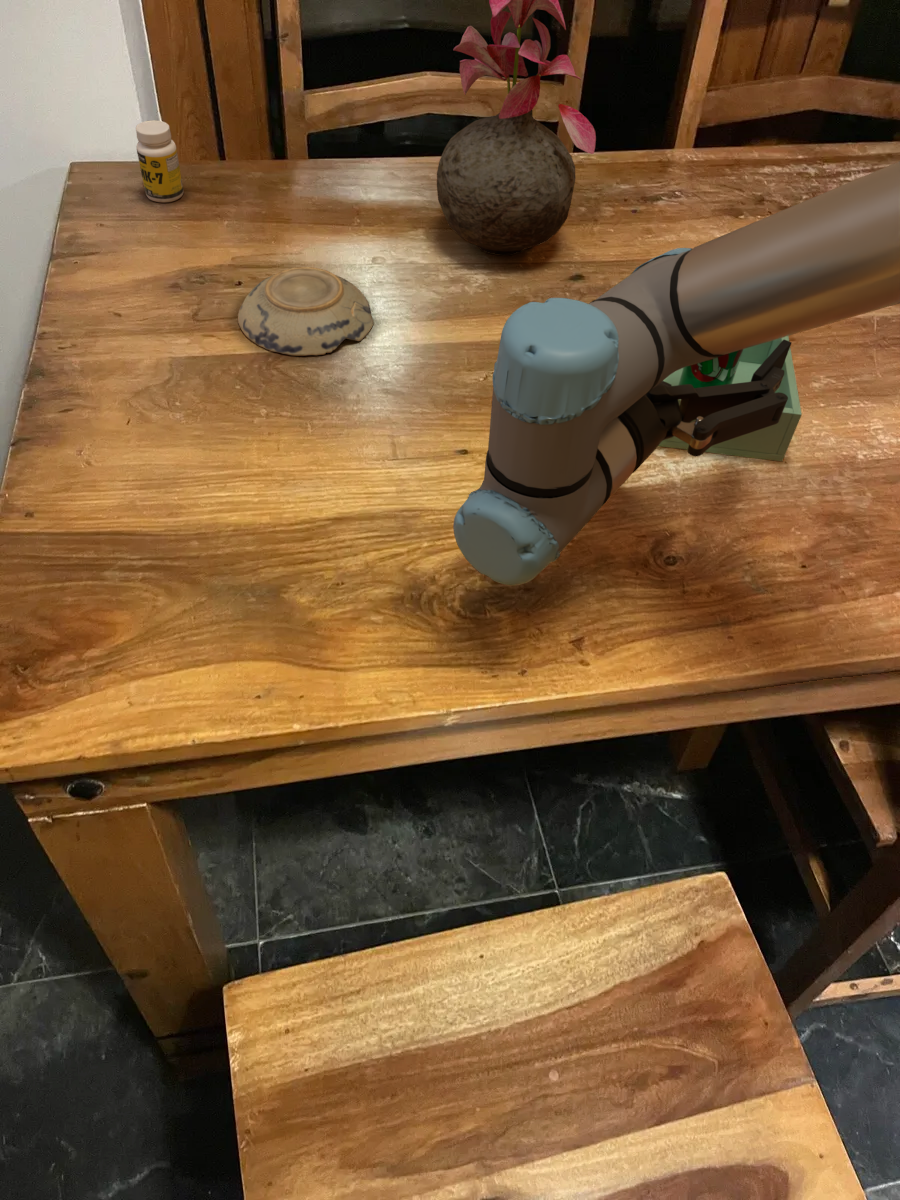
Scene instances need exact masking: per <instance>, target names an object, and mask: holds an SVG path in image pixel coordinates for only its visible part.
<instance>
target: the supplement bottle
mask: <svg viewBox="0 0 900 1200" xmlns="http://www.w3.org/2000/svg"><path fill="white" fill-rule="evenodd" d="M170 128H171V127H170V125H169V124H168V123H167V122H165V121H162V120H145V121H142V122H139V123H138V124H137V125H136V127H135V132H136V139H137V141H138V142H137V143H136V145H135V147H136V154H137V158H138V164H139V168H140V173H141V179H142V183H143V186H144V187H143V188H144V192H145V195H146V197H147V198H148V199H149V200H150V201H153V202H157V203H164V204H165V203H172V202H175V201H178V200H179V199H181V198H182V197H183V195H184V185H183V179H182V173H181V168H180V166H181V165H180V161H179V156H178V149H177V144H176V143H175V141H174V140H173V139H172V133H171V129H170Z"/></svg>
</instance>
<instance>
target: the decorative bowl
mask: <svg viewBox="0 0 900 1200" xmlns="http://www.w3.org/2000/svg"><path fill="white" fill-rule="evenodd" d="M237 322H238V326H239V328H240V330H241V331H242V333H243V334H244V336H245V337H246V338H247V339H248V340H250V341H251V342H252V343H254V344H255V345H257V346H258V347H262V348H264V349H265V350H266V351H270V352H273V353H280V354H282V355H288V356H296V357H298V356H301V357H304V356H324V355H326V353H327V354H329V353H332V352H333V351H335V350H336V349H337V348H338V347H339V346H340V345H341V344H342V343H343V342H344V341H345V340H346V339H347V340H351V341H355V342H361V341H362V340H363V339H364V338H365V337H366V336H367V335H368V334H369V332H370V331H371V330H372V328H373V326H374V318H373V315H372V309H371V306H370V303H369V301H368V299H367V297H366V296H365V294H364V293H363V291H361V290H360V289H359V288H358V287H357V286H356V285H355V284H353V283H352V282H350V281H349V280H347V279H346V278H343V277H341V276H339V275H337V274H334V273H333V272H331V271H328V270H326V269H323V268H318V267H312V266H299V267H298V266H297V267H291V268H288V269H284V270H281V271H279V272H276V273H274V274H272V275H270V276H267V277H266V278H265V279H262V280H261V281H260V282H259V283H257V284H256V285H255V286H254V287H253V288H252V289H251V290H250V291H249V293H247V295H246V296H245V298H244V299H243V302H242V303H241V305H240V307H239V310H238V314H237Z"/></svg>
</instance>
